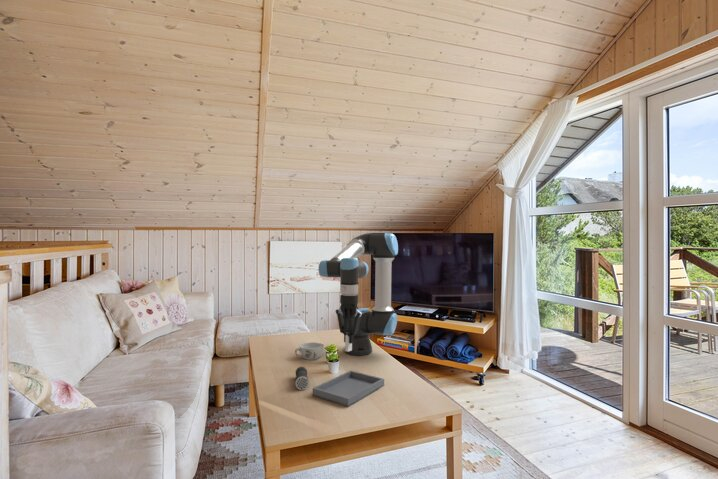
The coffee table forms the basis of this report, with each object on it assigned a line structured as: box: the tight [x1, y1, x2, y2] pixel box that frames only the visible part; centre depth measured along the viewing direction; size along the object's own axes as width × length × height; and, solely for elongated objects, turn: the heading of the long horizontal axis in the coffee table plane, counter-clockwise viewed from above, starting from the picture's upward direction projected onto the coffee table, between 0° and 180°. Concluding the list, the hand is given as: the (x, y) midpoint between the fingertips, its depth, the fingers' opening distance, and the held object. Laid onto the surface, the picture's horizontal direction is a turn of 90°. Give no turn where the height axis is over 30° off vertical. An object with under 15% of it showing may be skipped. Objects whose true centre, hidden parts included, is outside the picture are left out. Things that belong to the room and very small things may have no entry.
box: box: [312, 370, 385, 408], centre depth 158 cm, size 26×18×3 cm
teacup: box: [294, 342, 325, 361], centre depth 198 cm, size 15×12×8 cm
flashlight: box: [295, 366, 310, 391], centre depth 166 cm, size 15×5×5 cm
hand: (348, 350), depth 159 cm, fingers closed
